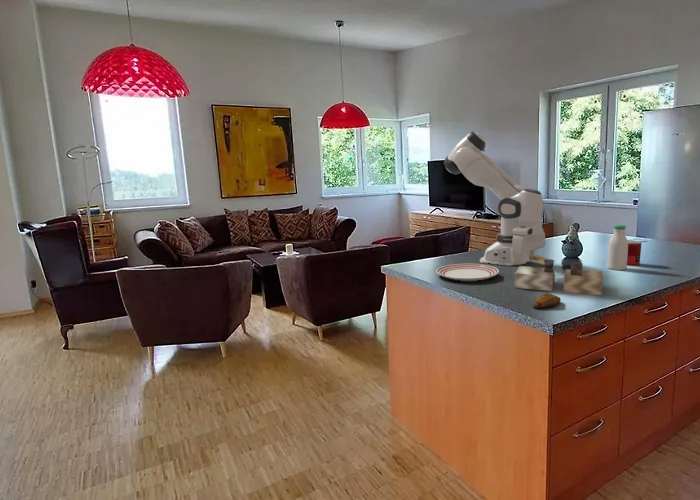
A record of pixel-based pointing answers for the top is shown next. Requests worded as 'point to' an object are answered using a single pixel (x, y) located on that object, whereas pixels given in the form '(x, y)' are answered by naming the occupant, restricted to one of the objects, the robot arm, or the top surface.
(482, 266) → the dinner plate
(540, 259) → the latch bar
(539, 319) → the top surface
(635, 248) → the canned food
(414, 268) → the top surface
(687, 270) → the top surface
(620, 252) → the milk bottle
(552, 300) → the croissant
